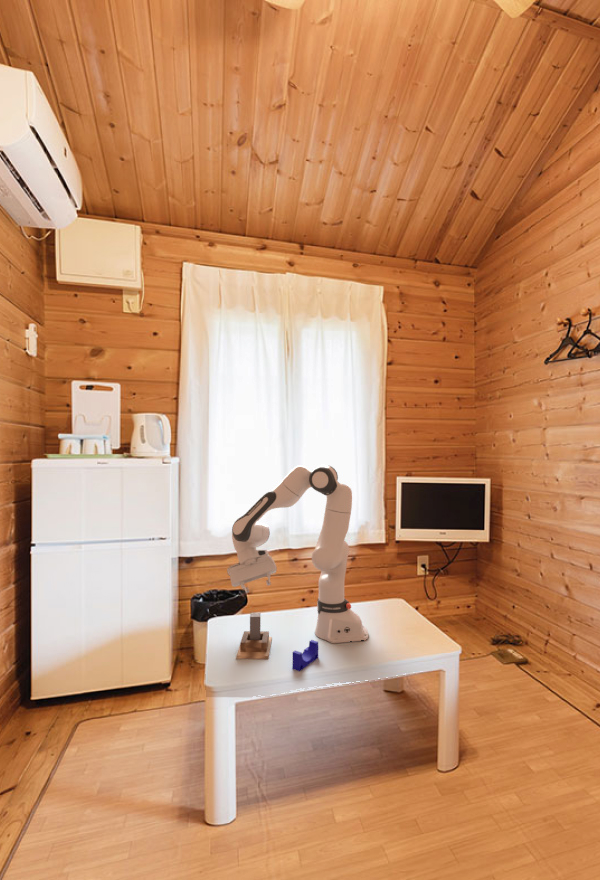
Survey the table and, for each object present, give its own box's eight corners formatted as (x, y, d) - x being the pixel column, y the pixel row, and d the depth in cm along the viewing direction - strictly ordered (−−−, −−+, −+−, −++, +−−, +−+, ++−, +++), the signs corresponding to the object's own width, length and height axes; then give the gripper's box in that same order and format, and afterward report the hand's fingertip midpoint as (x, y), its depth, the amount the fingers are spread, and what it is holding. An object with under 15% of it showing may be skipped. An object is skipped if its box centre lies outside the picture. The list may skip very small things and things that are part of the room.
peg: (260, 643, 160) (260, 612, 160) (260, 648, 156) (260, 616, 156) (250, 643, 160) (250, 612, 160) (249, 648, 156) (250, 616, 156)
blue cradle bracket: (308, 654, 153) (308, 638, 153) (318, 658, 150) (318, 641, 151) (289, 668, 143) (289, 650, 144) (299, 671, 141) (299, 654, 141)
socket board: (271, 639, 166) (271, 628, 166) (268, 658, 150) (268, 646, 150) (242, 639, 166) (242, 628, 166) (236, 658, 150) (236, 646, 150)
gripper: (225, 563, 172) (233, 593, 164) (270, 549, 178) (281, 577, 170) (226, 570, 177) (234, 600, 168) (270, 555, 183) (280, 583, 174)
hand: (258, 588), depth 169 cm, fingers open, 8 cm apart
